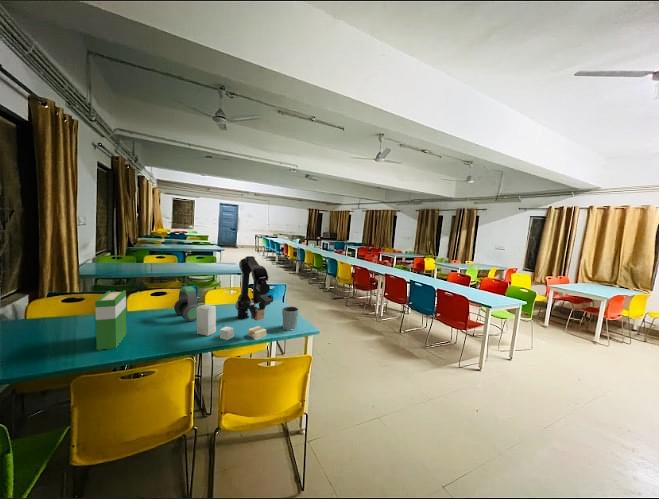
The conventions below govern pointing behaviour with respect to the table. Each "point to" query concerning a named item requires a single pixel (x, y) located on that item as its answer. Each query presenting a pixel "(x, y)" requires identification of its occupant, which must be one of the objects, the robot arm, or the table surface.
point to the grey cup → (290, 317)
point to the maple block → (257, 332)
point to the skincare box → (206, 319)
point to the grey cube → (226, 333)
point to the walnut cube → (258, 314)
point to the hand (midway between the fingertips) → (257, 316)
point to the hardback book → (110, 319)
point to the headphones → (187, 304)
